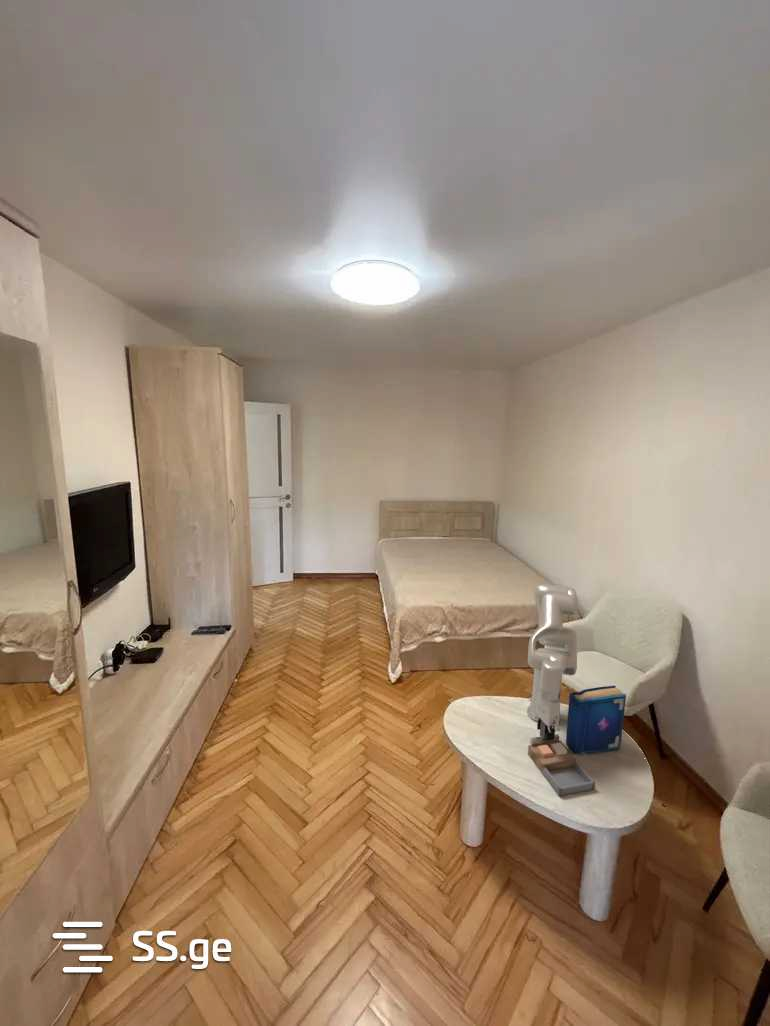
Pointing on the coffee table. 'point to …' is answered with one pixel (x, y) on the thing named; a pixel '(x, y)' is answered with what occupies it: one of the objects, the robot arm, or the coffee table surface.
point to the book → (595, 720)
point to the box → (569, 780)
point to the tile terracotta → (545, 751)
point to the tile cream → (559, 748)
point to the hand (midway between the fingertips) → (545, 733)
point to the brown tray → (551, 758)
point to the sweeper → (543, 736)
